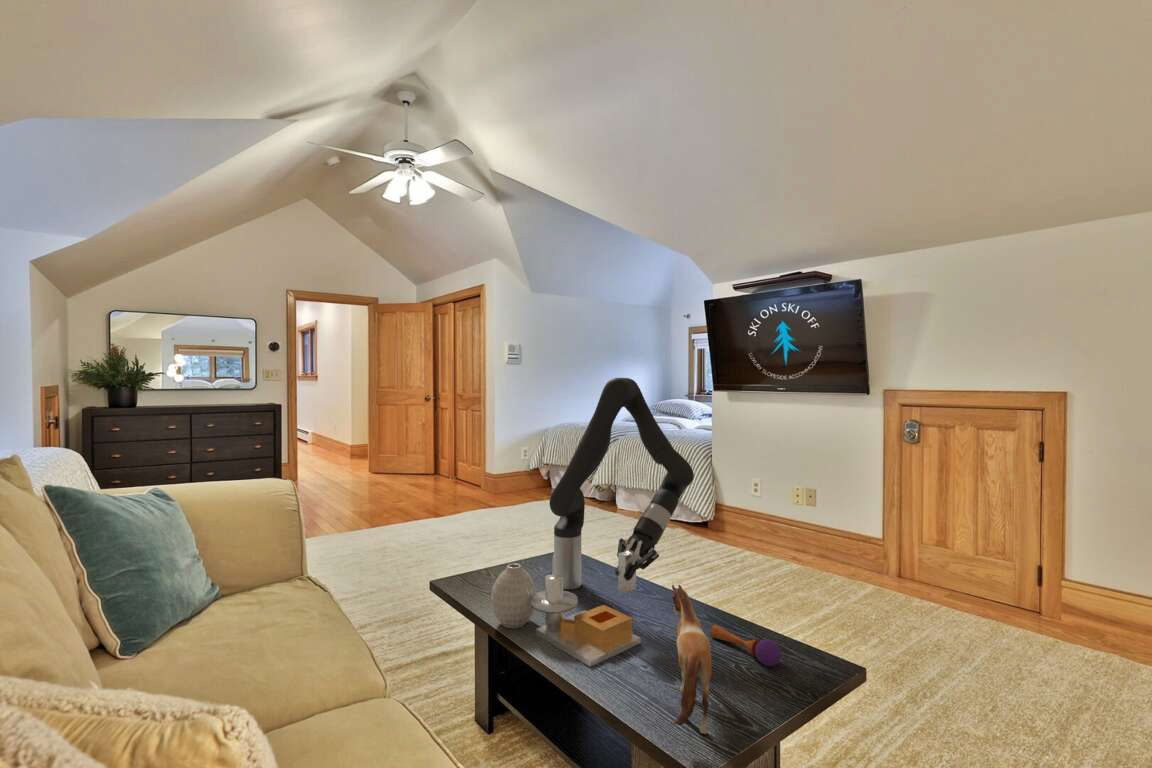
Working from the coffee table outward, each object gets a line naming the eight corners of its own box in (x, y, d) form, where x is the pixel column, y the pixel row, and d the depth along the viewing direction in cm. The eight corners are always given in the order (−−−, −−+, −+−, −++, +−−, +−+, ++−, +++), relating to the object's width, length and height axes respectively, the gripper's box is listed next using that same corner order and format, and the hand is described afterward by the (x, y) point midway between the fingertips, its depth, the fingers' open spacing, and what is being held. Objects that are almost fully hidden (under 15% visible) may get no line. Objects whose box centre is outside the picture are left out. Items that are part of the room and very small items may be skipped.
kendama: (722, 619, 150) (786, 642, 133) (720, 641, 149) (785, 668, 133) (707, 620, 146) (771, 644, 130) (705, 643, 146) (770, 671, 129)
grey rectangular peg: (618, 590, 146) (618, 553, 146) (629, 586, 149) (629, 549, 149) (624, 593, 144) (625, 555, 144) (635, 588, 147) (636, 552, 147)
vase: (527, 610, 163) (527, 555, 163) (543, 628, 152) (543, 569, 151) (485, 618, 158) (485, 561, 158) (499, 638, 146) (499, 576, 146)
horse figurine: (671, 665, 133) (671, 582, 132) (703, 668, 131) (704, 584, 131) (672, 753, 102) (672, 644, 102) (714, 758, 101) (715, 648, 100)
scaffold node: (520, 632, 150) (520, 576, 149) (577, 611, 163) (577, 559, 163) (582, 670, 130) (582, 606, 130) (640, 643, 144) (640, 584, 144)
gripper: (628, 510, 156) (596, 562, 149) (666, 521, 146) (634, 577, 138) (640, 525, 160) (610, 577, 152) (678, 537, 150) (647, 592, 142)
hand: (621, 576), depth 145 cm, fingers closed on grey rectangular peg, 2 cm apart
